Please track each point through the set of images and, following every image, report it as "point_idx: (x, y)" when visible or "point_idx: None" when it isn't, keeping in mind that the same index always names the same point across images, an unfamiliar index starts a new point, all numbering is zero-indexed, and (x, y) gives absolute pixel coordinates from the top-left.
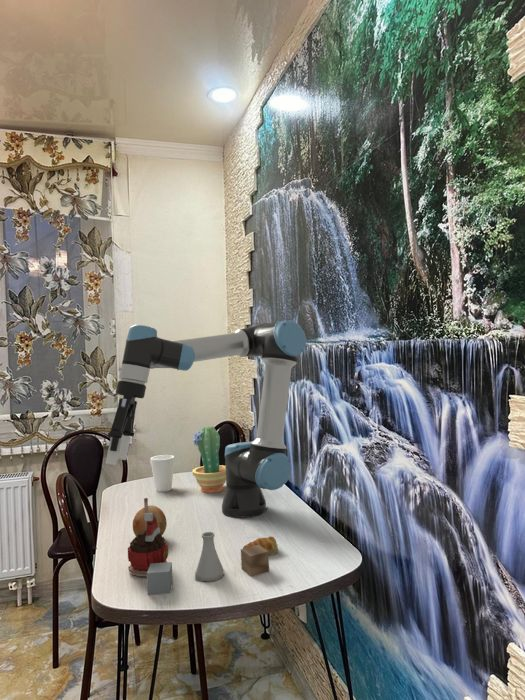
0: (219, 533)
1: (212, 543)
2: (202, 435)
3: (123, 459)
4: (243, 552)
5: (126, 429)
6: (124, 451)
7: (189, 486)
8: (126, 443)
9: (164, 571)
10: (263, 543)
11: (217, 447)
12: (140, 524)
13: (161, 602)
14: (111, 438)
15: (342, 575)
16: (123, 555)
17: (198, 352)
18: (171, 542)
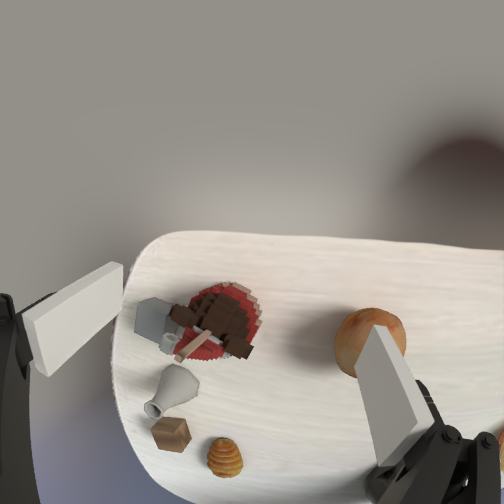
0: (328, 438)
1: (154, 407)
2: None
3: (358, 359)
4: (167, 431)
5: (396, 488)
6: (367, 383)
7: None
8: (377, 419)
9: (135, 326)
10: (210, 462)
11: None
12: (347, 327)
13: (133, 309)
14: (27, 316)
15: (145, 468)
16: (315, 279)
17: None
18: (334, 367)
